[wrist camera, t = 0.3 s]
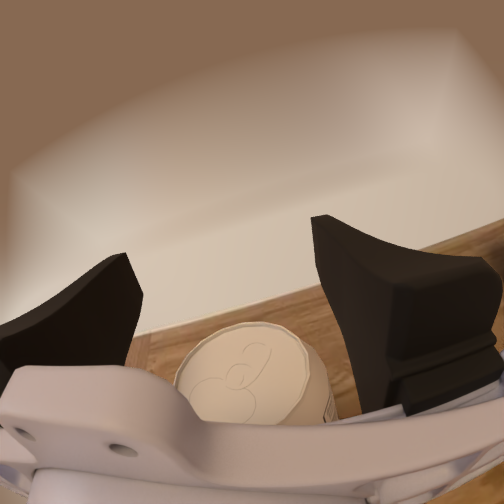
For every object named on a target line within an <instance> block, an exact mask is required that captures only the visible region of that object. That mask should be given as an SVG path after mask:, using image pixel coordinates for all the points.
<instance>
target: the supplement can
mask: <svg viewBox="0 0 504 504" xmlns="http://www.w3.org/2000/svg"><path fill="white" fill-rule="evenodd" d="M173 386H174V387H175V388H176V389H177V390H178V391H179V392H180V393H181V394H183V395H184V396H185V397H186V398H187V399H188V401H189V403H190V404H191V406H192V408H193V409H194V411H195V412H196V414H197V415H198V416H199V418H200V419H202V420H204V421H216V422H227V423H240V424H258V425H317V424H322V423H327V422H332V421H337V420H339V418H338V414H337V410H336V406H335V402H334V398H333V394H332V390H331V386H330V382H329V378H328V374H327V370H326V367H325V365H324V363H323V362H322V360H321V359H320V357H319V355H318V354H317V352H316V351H315V349H314V348H313V347H311V346H310V345H308V344H307V343H305V342H304V341H302V340H301V339H299V338H298V336H296V335H295V334H293V333H292V332H290V331H289V330H287V329H286V328H284V327H283V326H279V325H275V324H271V323H267V322H246V323H239V324H236V325H233V326H230V327H227V328H223V329H221V330H219V331H217V332H215V333H214V334H212V335H210V336H209V337H207V338H205V339H203V340H202V341H201V342H200V343H199V344H198V345H197V346H196V347H195V348H194V349H192V350H191V351H190V352H189V353H188V354H187V356H186V357H185V359H184V360H183V362H182V364H181V365H180V367H179V369H178V370H177V372H176V376H175V380H174V384H173Z"/></svg>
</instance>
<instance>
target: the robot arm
mask: <svg viewBox="0 0 504 504" xmlns="http://www.w3.org/2000/svg"><path fill="white" fill-rule="evenodd" d="M311 224H312V234H313V242H314V252H315V263H316V268H317V271H318V274H319V278H320V282H321V285H322V288H323V290H324V292H325V295H326V297H327V299H328V302H329V304H330V306H331V308H332V311H333V313H334V315H335V318H336V320H337V322H338V325H339V327H340V329H341V332H342V335H343V338H344V341H345V344H346V348H347V351H348V355H349V359H350V362H351V366H352V370H353V374H354V378H355V382H356V387H357V391H358V396H359V401H360V405H361V410H362V415H358V416H354V417H350V418H346V419H341V420H337V421H332V422H327V423H322V424H317V425H258V424H240V423H227V422H216V421H204V420H202V419H200V418H199V416H198V415H197V414H196V412H195V411H194V409H193V408H192V406H191V404H190V403H189V401H188V399H187V398H186V397H185V396H184V395H183V394H181V393H180V392H179V391H178V390H177V389H176V388H175V387H174V386H173V385H172V384H171V383H170V382H169V381H167V380H166V379H164V378H161V377H159V376H157V375H155V374H152V373H150V372H148V371H146V370H143V369H141V368H133V367H126V366H124V364H125V361H126V357H127V354H128V351H129V347H130V344H131V341H132V338H133V335H134V332H135V329H136V326H137V322H138V320H139V316H140V312H141V307H142V301H143V292H142V290H141V287H140V285H139V283H138V280H137V278H136V276H135V273H134V271H133V269H132V266H131V264H130V261H129V259H128V257H127V254H126V253H120V254H115V255H112V256H110V257H108V258H106V259H105V260H103V261H102V262H100V263H99V264H97V265H96V266H94V267H93V268H92V269H90V270H89V271H88V272H87V273H85V274H84V275H83V276H81V277H80V278H78V279H77V280H76V281H74V282H73V283H72V284H70V285H69V286H68V287H66V288H65V289H64V290H62V291H61V292H60V293H58V294H57V295H55V296H54V297H52V298H51V299H49V300H48V301H46V302H44V303H43V304H41V305H40V306H38V307H36V308H34V309H33V310H31V311H29V312H27V313H25V314H23V315H22V316H20V317H18V318H16V319H14V320H12V321H9V322H7V323H5V324H2V325H0V485H1V486H3V487H5V488H7V489H9V490H11V491H13V492H15V493H17V494H19V495H22V496H24V497H26V498H28V500H27V504H423V503H426V502H428V501H430V500H432V499H435V498H437V497H439V496H441V495H443V494H445V493H447V492H449V491H451V490H453V489H455V488H457V487H459V486H461V485H463V484H465V483H467V482H469V481H471V480H472V479H474V478H476V477H478V476H480V475H481V474H483V473H485V472H486V471H488V470H490V469H492V468H493V467H495V466H497V465H498V464H500V463H501V462H503V461H504V349H503V350H502V351H501V352H500V354H499V353H498V351H497V350H496V348H495V347H494V345H495V344H496V342H497V339H496V336H495V335H494V334H493V332H492V331H491V328H492V326H493V323H494V320H495V317H496V315H497V312H498V309H499V306H500V302H501V298H502V293H503V287H502V280H501V278H500V275H499V274H498V273H497V272H496V271H495V270H494V269H493V268H492V267H491V266H490V265H489V264H488V263H487V262H486V261H485V260H484V259H483V258H482V257H471V256H450V255H441V254H433V253H427V252H422V251H417V250H412V249H408V248H405V247H401V246H397V245H394V244H391V243H388V242H385V241H382V240H380V239H377V238H375V237H372V236H370V235H368V234H365V233H363V232H361V231H359V230H357V229H355V228H353V227H351V226H349V225H347V224H345V223H343V222H341V221H340V220H338V219H336V218H334V217H332V216H330V215H321V216H315V217H311Z"/></svg>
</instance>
